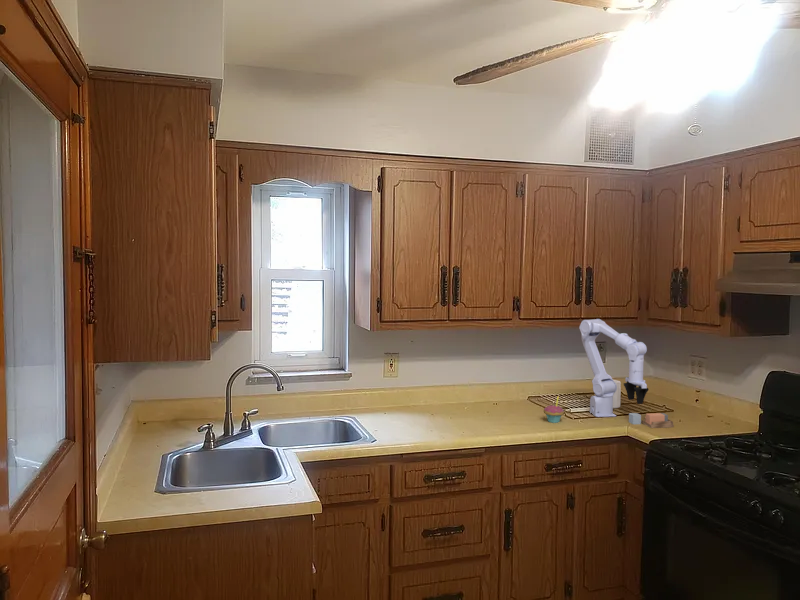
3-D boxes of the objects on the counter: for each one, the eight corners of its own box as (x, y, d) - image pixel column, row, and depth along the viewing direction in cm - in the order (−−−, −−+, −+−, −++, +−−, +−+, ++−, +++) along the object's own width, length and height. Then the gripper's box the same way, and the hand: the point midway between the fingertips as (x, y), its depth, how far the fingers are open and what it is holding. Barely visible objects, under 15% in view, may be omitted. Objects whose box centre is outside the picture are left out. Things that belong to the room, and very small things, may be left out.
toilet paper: (597, 407, 282) (598, 382, 282) (598, 402, 292) (598, 378, 291) (620, 409, 279) (620, 383, 278) (620, 404, 289) (620, 379, 288)
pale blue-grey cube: (632, 424, 253) (633, 415, 253) (628, 422, 257) (629, 413, 256) (640, 424, 253) (641, 415, 253) (636, 421, 257) (636, 412, 257)
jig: (651, 428, 247) (651, 422, 247) (641, 422, 255) (641, 417, 255) (673, 427, 248) (673, 422, 248) (663, 422, 256) (663, 417, 256)
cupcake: (563, 419, 261) (564, 392, 260) (563, 424, 253) (564, 397, 252) (543, 418, 263) (544, 391, 262) (543, 423, 255) (543, 395, 254)
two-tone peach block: (649, 424, 250) (650, 415, 249) (645, 421, 253) (645, 413, 253) (667, 423, 250) (668, 415, 250) (663, 421, 254) (663, 413, 254)
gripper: (654, 373, 247) (653, 405, 248) (636, 367, 261) (635, 397, 262) (638, 373, 246) (637, 405, 247) (621, 367, 260) (620, 397, 261)
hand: (635, 401), depth 254 cm, fingers open, 7 cm apart
